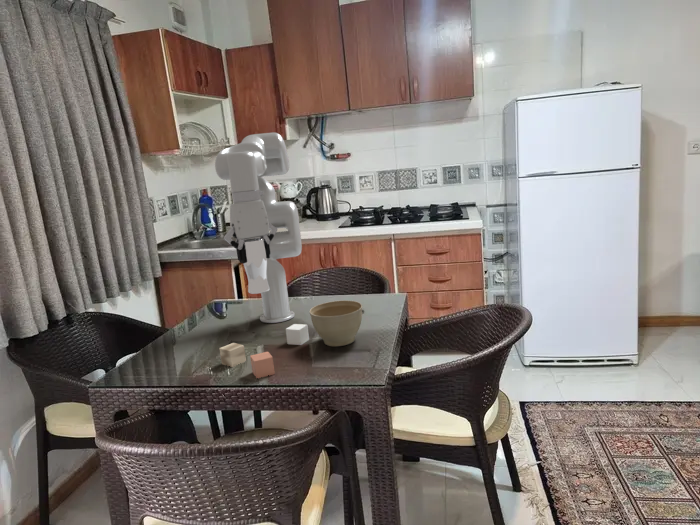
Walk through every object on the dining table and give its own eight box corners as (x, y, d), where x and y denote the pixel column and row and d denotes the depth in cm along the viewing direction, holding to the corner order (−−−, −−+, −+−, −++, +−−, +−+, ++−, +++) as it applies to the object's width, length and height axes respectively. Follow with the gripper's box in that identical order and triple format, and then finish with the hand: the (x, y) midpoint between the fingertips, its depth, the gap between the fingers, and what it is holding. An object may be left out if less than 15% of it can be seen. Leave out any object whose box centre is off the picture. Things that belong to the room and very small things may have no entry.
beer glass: (260, 295, 147) (252, 242, 144) (241, 293, 150) (234, 241, 147) (276, 288, 152) (269, 237, 149) (258, 287, 156) (251, 237, 153)
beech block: (221, 364, 153) (219, 348, 152) (235, 358, 157) (233, 342, 156) (232, 367, 150) (229, 351, 149) (246, 361, 154) (243, 345, 153)
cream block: (287, 344, 165) (285, 329, 164) (295, 338, 170) (294, 323, 169) (301, 345, 163) (299, 329, 162) (309, 339, 167) (307, 324, 166)
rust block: (252, 372, 145) (250, 355, 144) (270, 368, 147) (267, 351, 146) (256, 378, 141) (254, 361, 140) (274, 374, 142) (272, 357, 141)
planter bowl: (315, 334, 171) (312, 302, 169) (365, 330, 170) (362, 298, 168) (310, 353, 155) (306, 317, 153) (365, 348, 154) (361, 313, 152)
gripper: (268, 193, 154) (276, 253, 157) (211, 201, 144) (221, 264, 148) (280, 193, 147) (288, 256, 151) (221, 201, 138) (230, 267, 142)
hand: (254, 259), depth 149 cm, fingers closed on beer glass, 6 cm apart
